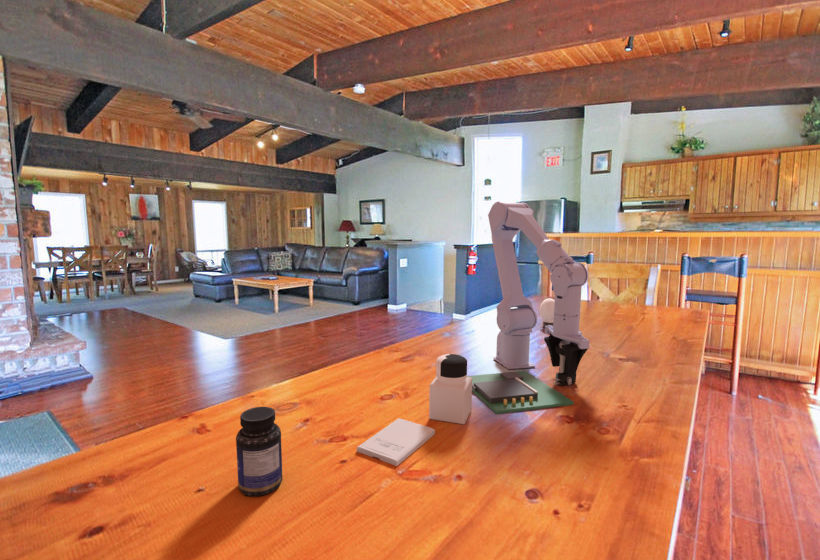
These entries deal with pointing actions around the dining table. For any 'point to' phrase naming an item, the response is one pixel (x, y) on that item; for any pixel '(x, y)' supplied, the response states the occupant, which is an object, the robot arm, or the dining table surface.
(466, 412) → the medicine bottle
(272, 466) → the pill bottle
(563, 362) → the push button
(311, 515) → the dining table surface
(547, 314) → the light bulb
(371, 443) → the external hard drive
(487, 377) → the circuit board
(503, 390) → the pad
